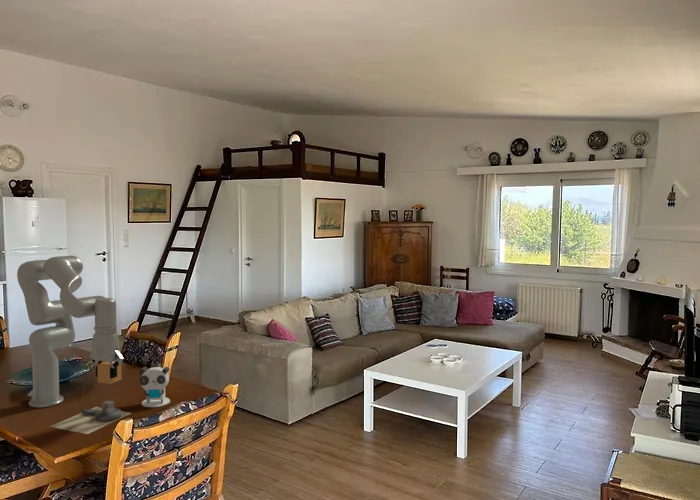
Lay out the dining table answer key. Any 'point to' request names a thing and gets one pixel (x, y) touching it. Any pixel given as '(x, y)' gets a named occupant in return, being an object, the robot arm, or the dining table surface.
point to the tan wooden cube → (107, 373)
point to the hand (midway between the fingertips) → (106, 376)
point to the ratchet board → (92, 419)
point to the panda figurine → (154, 386)
